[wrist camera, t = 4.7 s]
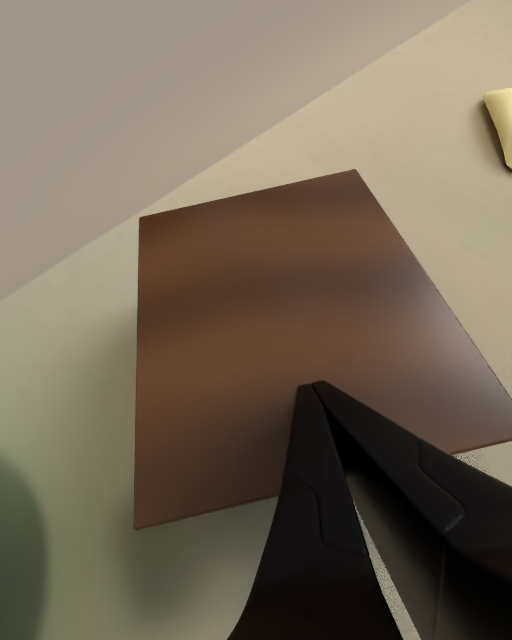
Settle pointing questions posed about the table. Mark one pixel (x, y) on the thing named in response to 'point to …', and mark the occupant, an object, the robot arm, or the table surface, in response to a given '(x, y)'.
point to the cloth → (502, 118)
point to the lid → (287, 341)
